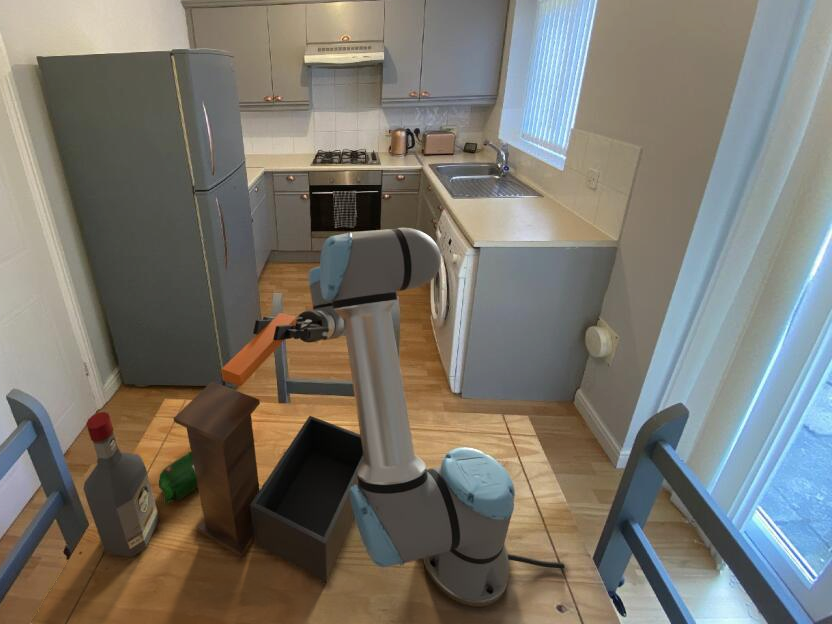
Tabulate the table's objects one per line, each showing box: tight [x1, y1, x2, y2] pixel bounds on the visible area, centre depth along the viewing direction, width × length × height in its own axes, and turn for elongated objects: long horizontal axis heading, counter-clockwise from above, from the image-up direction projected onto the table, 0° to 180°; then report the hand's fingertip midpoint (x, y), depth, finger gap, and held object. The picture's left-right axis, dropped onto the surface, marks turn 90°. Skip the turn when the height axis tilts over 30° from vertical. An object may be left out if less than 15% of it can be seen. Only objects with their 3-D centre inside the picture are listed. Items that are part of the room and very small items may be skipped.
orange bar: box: [220, 312, 297, 387], centre depth 82 cm, size 4×20×2 cm, turn 154°
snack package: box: [158, 451, 198, 504], centre depth 94 cm, size 7×16×5 cm, turn 131°
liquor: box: [83, 411, 160, 558], centre depth 78 cm, size 9×9×30 cm
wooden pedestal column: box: [173, 381, 261, 558], centre depth 80 cm, size 11×10×30 cm
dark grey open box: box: [250, 415, 364, 583], centre depth 86 cm, size 16×24×11 cm, turn 153°
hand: (266, 330), depth 82 cm, fingers closed on orange bar, 4 cm apart
